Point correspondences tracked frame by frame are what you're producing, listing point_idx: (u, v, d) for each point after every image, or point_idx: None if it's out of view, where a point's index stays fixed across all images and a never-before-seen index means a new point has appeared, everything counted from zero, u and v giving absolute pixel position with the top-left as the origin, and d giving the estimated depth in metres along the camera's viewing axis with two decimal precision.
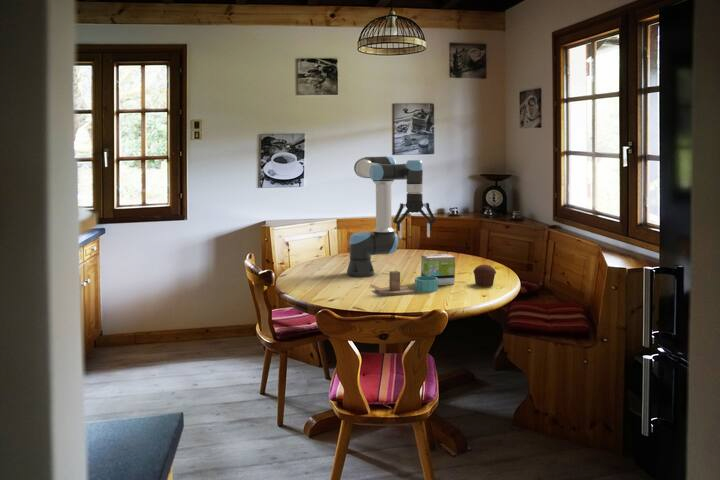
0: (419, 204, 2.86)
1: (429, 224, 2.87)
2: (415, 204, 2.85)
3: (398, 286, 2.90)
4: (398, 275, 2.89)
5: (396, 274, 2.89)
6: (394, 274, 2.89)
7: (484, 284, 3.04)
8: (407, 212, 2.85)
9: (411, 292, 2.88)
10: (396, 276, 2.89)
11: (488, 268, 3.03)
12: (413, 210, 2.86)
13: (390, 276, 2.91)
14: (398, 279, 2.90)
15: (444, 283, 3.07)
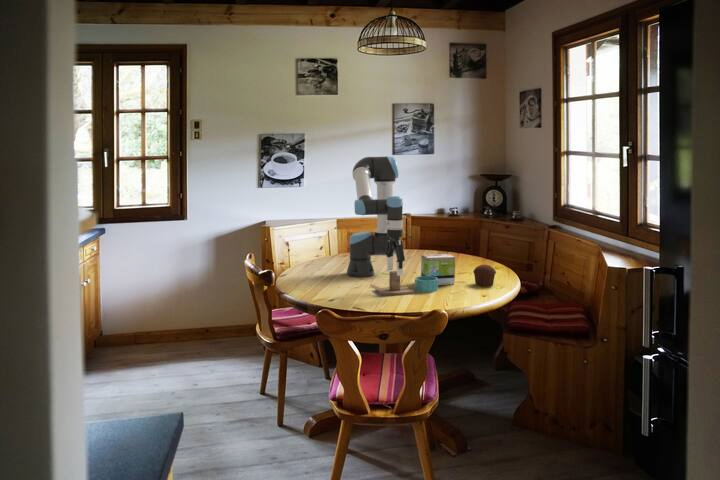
0: (394, 240, 2.86)
1: (397, 262, 2.82)
2: (392, 240, 2.88)
3: (398, 286, 2.90)
4: None
5: (396, 274, 2.89)
6: (394, 274, 2.89)
7: (484, 284, 3.04)
8: (389, 246, 2.92)
9: (411, 292, 2.88)
10: (396, 276, 2.89)
11: (488, 268, 3.03)
12: (392, 245, 2.89)
13: (390, 276, 2.91)
14: (398, 279, 2.90)
15: (444, 283, 3.07)
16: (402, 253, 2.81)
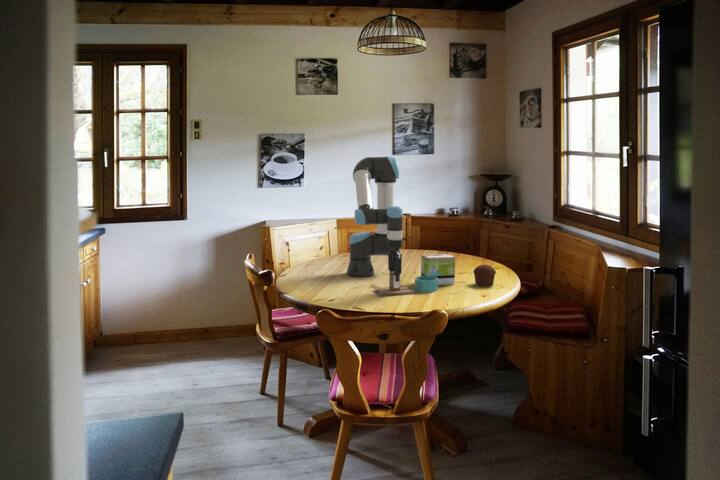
0: (394, 250, 2.86)
1: (394, 275, 2.88)
2: (393, 247, 2.88)
3: None
4: None
5: None
6: None
7: (484, 284, 3.04)
8: (390, 258, 2.91)
9: (411, 292, 2.88)
10: None
11: (488, 268, 3.03)
12: (392, 255, 2.90)
13: (390, 276, 2.91)
14: None
15: (444, 283, 3.07)
16: (400, 267, 2.85)
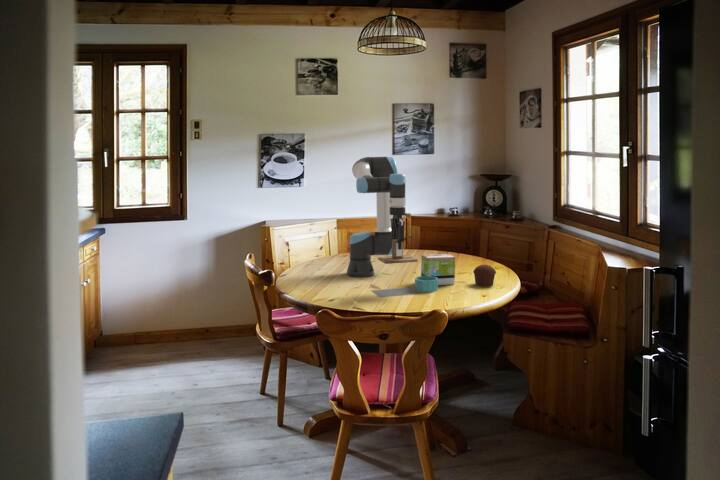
0: (397, 217, 2.84)
1: (396, 243, 2.86)
2: (395, 215, 2.86)
3: None
4: None
5: None
6: None
7: (484, 284, 3.04)
8: (392, 226, 2.89)
9: (414, 260, 2.86)
10: None
11: (488, 268, 3.03)
12: (394, 223, 2.88)
13: (393, 244, 2.89)
14: None
15: (444, 283, 3.07)
16: (402, 234, 2.83)
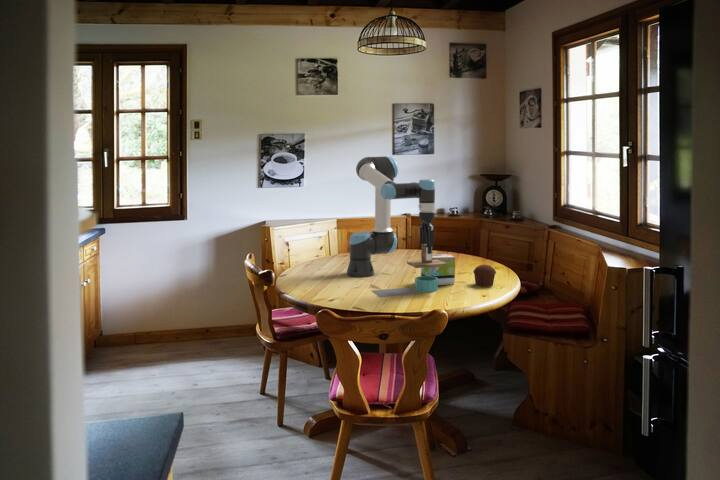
0: (426, 222, 2.89)
1: (426, 247, 2.91)
2: (425, 220, 2.90)
3: None
4: None
5: None
6: None
7: (484, 284, 3.04)
8: (422, 231, 2.94)
9: (443, 264, 2.91)
10: None
11: (488, 268, 3.03)
12: None
13: (422, 249, 2.93)
14: None
15: (444, 283, 3.07)
16: (432, 239, 2.87)
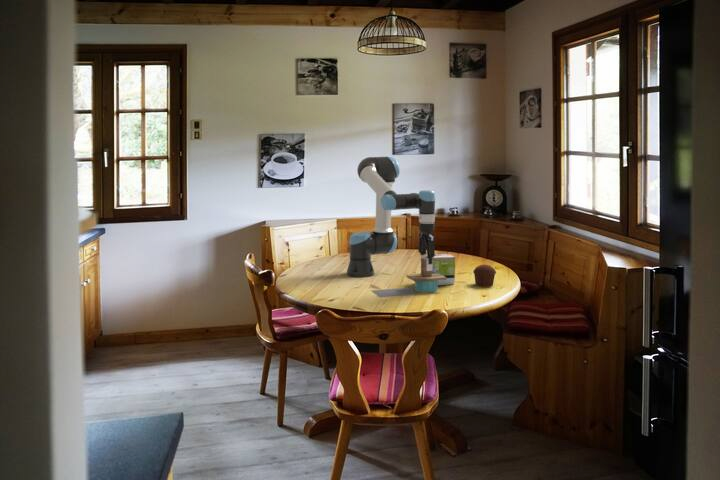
0: (426, 233, 2.90)
1: (427, 258, 2.90)
2: (425, 231, 2.92)
3: (430, 272, 2.94)
4: None
5: None
6: (426, 260, 2.92)
7: (484, 284, 3.04)
8: (421, 241, 2.95)
9: (443, 278, 2.92)
10: None
11: (488, 268, 3.03)
12: (424, 239, 2.93)
13: (422, 262, 2.95)
14: None
15: (444, 283, 3.07)
16: (433, 249, 2.88)
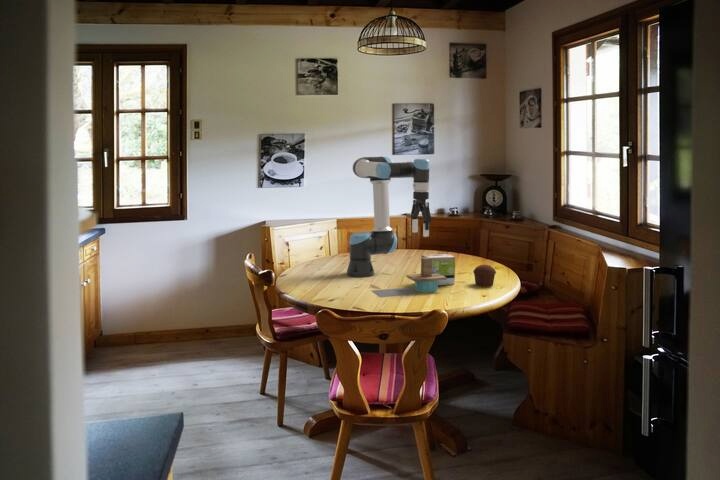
0: (420, 202, 2.90)
1: (423, 223, 2.88)
2: (418, 202, 2.92)
3: (430, 272, 2.94)
4: (430, 261, 2.93)
5: (428, 260, 2.93)
6: (426, 260, 2.92)
7: (484, 284, 3.04)
8: (414, 208, 2.96)
9: (443, 278, 2.92)
10: (428, 262, 2.93)
11: (488, 268, 3.03)
12: (418, 207, 2.94)
13: (422, 262, 2.95)
14: (430, 265, 2.93)
15: (444, 283, 3.07)
16: (429, 215, 2.86)
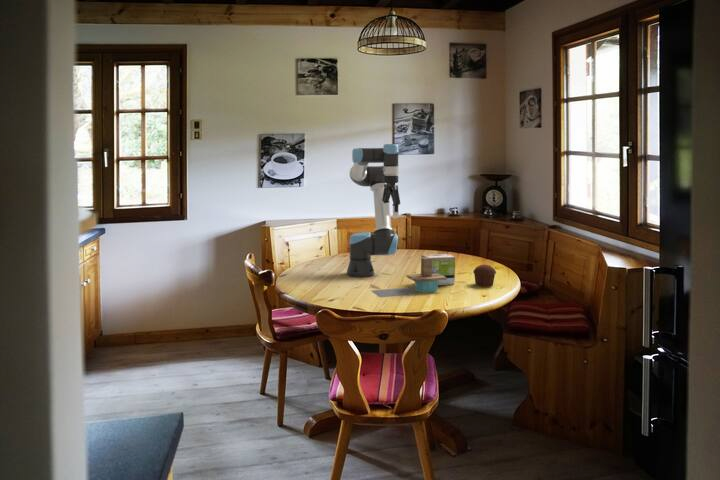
0: (390, 186, 3.02)
1: (393, 206, 2.98)
2: (389, 185, 3.03)
3: (430, 272, 2.94)
4: (430, 261, 2.93)
5: (428, 260, 2.93)
6: (426, 260, 2.92)
7: (484, 284, 3.04)
8: (385, 192, 3.07)
9: (443, 278, 2.92)
10: (428, 262, 2.93)
11: (488, 268, 3.03)
12: (388, 191, 3.05)
13: (422, 262, 2.95)
14: (430, 265, 2.93)
15: (444, 283, 3.07)
16: (398, 197, 2.97)
